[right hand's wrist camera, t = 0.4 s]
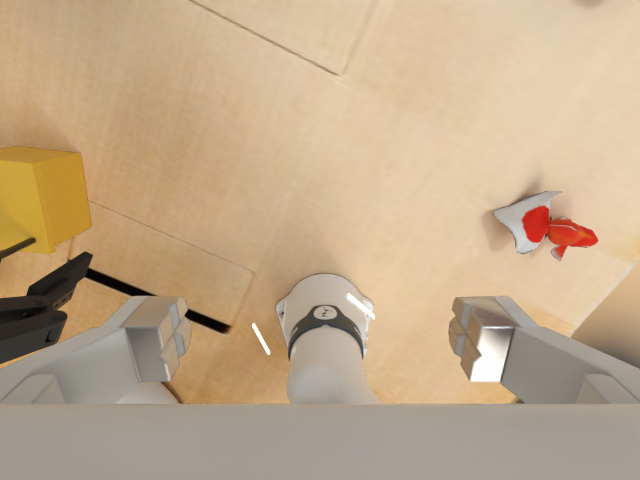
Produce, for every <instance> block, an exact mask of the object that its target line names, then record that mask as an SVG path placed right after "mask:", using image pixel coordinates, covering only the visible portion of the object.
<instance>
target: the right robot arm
mask: <svg viewBox="0 0 640 480" xmlns="http://www.w3.org/2000/svg"><path fill="white" fill-rule="evenodd" d="M373 308H374V307H373V303H372V301H371V300H369V299H368V298H366V297H364V296H362V295H361V294H360V293H359V291H358V290H357V289H356V287H355V286H354V285H353V284H352V283H351V282H349V281H348V280H346V279H345V278H343V277H340V276H337V275H333V274H317V275H313V276H310V277H307V278H305V279H303V280H302V281H300V282H299V283H298V284H297V285H296V286H295V287H294V288H293V290H292V291H291V293H290V294H289V295H288V296H287V297H285V298H284V299H282V300H280V301H279V302H278V303H277V304H276V311H277V314H278V318H279V321H280V324H281V327H282V331H283V334H284V337H285V341H286V344H287V347H288V357H289V361H290V364H289V373H288V382H287V394H288V398H289V401H290V403H291V404H114V403H115V402H117V401H118V400H119V399H121V398H122V397H123V396H124V395H126V394H127V393H128V392H130V391H131V390H132V389H133V388H135V387H136V386H137V385H138V384H139V382H170V381H171V379H172V377H173V375H174V374H175V372H176V370H177V368H178V366H179V365H180V363H179V357H181V356H182V355H184V354H185V353H186V351H187V349H188V348H189V345H190V340H191V324H190V321H189V320H188V319H187V318H186V317H185V316H184V315H185V314H186V312H187V310H188V307H187V302H186V299H185V298H184V297H167V296H133V297H130V298H129V299H128V300H127V301H126V302H125V303H124V304H123V305H122V306H121V307H120V308H119V309H118V310H117V311H116V312H115V313H114V314H113V315H112V316H111V317H110V318H109V319H108V320H107V321H106V322H105V323H104V324H103V325H102V326H101V327H94V328H92V329H89V330H87V331H85V332H83V333H80V334H78V335H76V336H74V337H71V338H69V339H67V340H65V341H62V342H60V343H58V344H55V345H53V346H51V347H49V348H46V349H44V350H42V351H40V352H37V353H35V354H33V355H31V356H28V357H26V358H24V359H22V360H19V361H17V362H15V363H13V364H10V365H8V366H6V367H4V368H1V369H0V480H640V369H638V368H636V367H634V366H632V365H629V364H627V363H625V362H623V361H620V360H618V359H616V358H614V357H611V356H609V355H607V354H605V353H602V352H600V351H598V350H596V349H593V348H591V347H589V346H587V345H584V344H582V343H580V342H578V341H575V340H573V339H571V338H569V337H566V336H564V335H562V334H560V333H557V332H555V331H553V330H551V329H548V328H546V327H539V326H538V325H537V324H536V323H535V322H534V321H533V320H532V319H531V318H530V317H529V316H528V315H527V314H526V313H525V312H524V311H523V310H522V309H521V308H520V307H519V306H518V305H517V304H516V303H515V302H514V301H513V300H512V299H511V298H510V297H508V296H486V297H456V298H455V300H454V302H453V306H452V310H453V312H454V314H455V315H456V316H455V317H454V318H453V319H452V320H451V321H450V324H449V341H450V345H451V348H452V350H453V351H454V353H455V354H456V355H458V356H459V357H461V363H460V365H461V366H462V368H463V370H464V372H465V374H466V375H467V377H468V379H469V381H470V382H501V384H502V385H503V386H504V387H505V388H507V389H508V390H509V391H511V392H512V393H513V394H514V395H516V396H517V397H518V398H520V399H521V400H522V401H523V402H525V403H526V404H383V402H382V401H381V400H380V399H379V398H378V397H377V396H376V395H375V393H374V392H373V390H372V389H371V387H370V385H369V383H368V380H367V376H366V373H365V369H364V365H363V356H365V355H366V351H367V345H366V344H365V343H364V341H367V340H368V333H367V330H368V326H369V323H370V319H371V317H372V318H373V319H374V318H375V317H374V314H372V312H373ZM282 312H284V313H282ZM252 327H253V328H254V330H255V332H256V334H257V336H258V337H259V339H260V341H261V343H262V345H263V346H264V348H265V350H266V352H267V354H268V355H269V354H270V351H269V349H268V347H267V346H266V344H265V342H264V340H263V338H262V337H261V335H260V333H259V331H258V329H257V328H256V326H255V324H253V325H252Z"/></svg>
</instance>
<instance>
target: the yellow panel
mask: <svg viewBox="0 0 640 480" xmlns="http://www.w3.org/2000/svg"><path fill="white" fill-rule="evenodd" d="M0 249H2V250H3V251H0V262H1V259H3V258H5V257H7V256H9V255H11V254H13V253H15V252H17V251H22V252H33V253H43V254H51V253H53V252H55V251H56V250H55V245H54V240H53V235H52V230H51V225H50V220H49V215H48V210H47V205H46V200H45V195H44V190H43V185H42V180H41V175H40V170H39V165H38V162H32V161H22V160H13V159H4V158H0Z"/></svg>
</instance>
